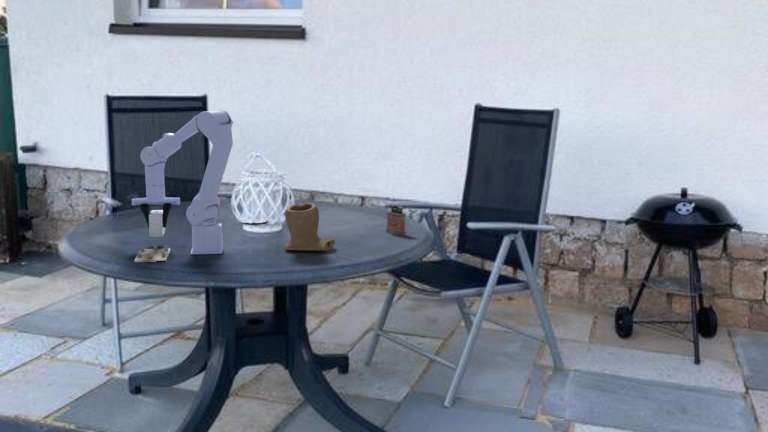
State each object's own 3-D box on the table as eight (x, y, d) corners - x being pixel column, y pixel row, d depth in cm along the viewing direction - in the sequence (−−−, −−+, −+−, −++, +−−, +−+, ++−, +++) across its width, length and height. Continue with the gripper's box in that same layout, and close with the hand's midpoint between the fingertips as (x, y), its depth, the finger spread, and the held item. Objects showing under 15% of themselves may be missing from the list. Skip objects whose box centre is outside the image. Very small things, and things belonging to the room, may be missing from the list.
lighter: (407, 234, 274) (408, 206, 272) (401, 235, 272) (401, 207, 270) (390, 230, 280) (390, 203, 278) (384, 232, 277) (384, 204, 275)
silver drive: (165, 231, 256) (165, 210, 254) (162, 236, 248) (162, 214, 247) (152, 231, 255) (151, 209, 254) (149, 236, 247) (148, 214, 246)
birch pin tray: (170, 250, 247) (170, 243, 247) (165, 261, 234) (165, 254, 233) (140, 251, 246) (140, 244, 245) (134, 262, 232) (133, 255, 232)
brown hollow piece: (279, 254, 244) (278, 206, 242) (289, 245, 256) (289, 199, 253) (327, 256, 242) (327, 208, 239) (335, 247, 254) (335, 201, 251)
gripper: (180, 182, 253) (181, 223, 256) (133, 183, 251) (135, 225, 254) (178, 185, 247) (179, 228, 249) (129, 186, 244) (132, 229, 247)
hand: (157, 227), depth 251 cm, fingers closed on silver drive, 4 cm apart
